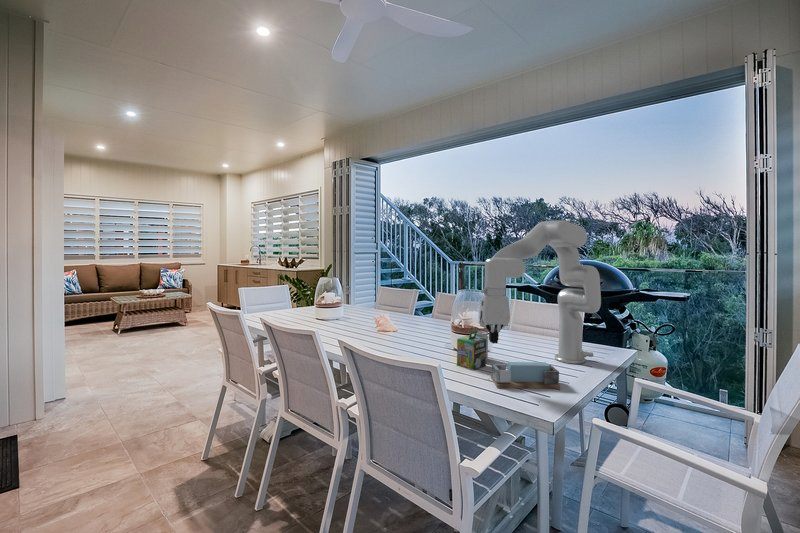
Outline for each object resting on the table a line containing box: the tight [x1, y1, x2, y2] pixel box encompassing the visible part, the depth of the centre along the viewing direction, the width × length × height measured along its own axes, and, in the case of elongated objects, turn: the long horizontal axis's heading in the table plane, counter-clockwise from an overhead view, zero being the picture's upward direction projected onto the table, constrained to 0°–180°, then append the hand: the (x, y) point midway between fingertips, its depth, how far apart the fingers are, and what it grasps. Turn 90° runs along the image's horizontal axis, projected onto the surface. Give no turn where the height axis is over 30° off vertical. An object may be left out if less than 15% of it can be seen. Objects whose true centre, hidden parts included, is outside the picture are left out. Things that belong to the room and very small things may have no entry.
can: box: [472, 330, 489, 360], centre depth 176 cm, size 8×8×12 cm
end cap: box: [491, 363, 511, 383], centre depth 145 cm, size 5×8×4 cm, turn 179°
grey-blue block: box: [507, 361, 550, 382], centre depth 145 cm, size 14×4×6 cm, turn 88°
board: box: [490, 364, 561, 390], centre depth 145 cm, size 22×11×6 cm, turn 89°
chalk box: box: [456, 330, 487, 371], centre depth 166 cm, size 9×9×15 cm
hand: (493, 342), depth 144 cm, fingers closed
